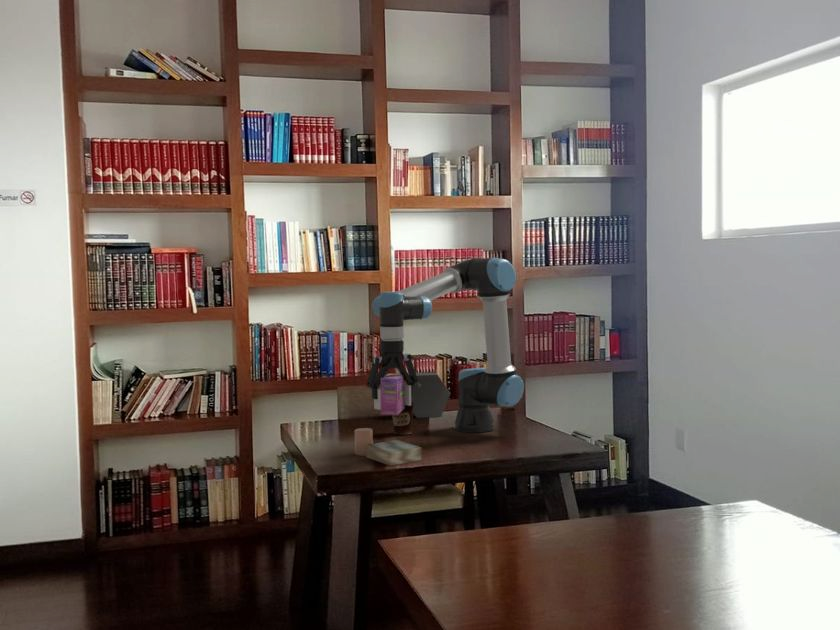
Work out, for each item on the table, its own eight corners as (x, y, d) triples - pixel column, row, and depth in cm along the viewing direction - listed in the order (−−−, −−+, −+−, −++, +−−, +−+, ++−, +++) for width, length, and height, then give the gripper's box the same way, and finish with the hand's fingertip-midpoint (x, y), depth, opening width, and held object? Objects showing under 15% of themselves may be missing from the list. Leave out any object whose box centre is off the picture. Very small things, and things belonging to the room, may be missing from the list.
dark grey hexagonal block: (453, 401, 347) (426, 361, 343) (457, 404, 339) (430, 363, 336) (420, 425, 344) (393, 385, 341) (424, 428, 337) (396, 388, 333)
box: (398, 415, 261) (397, 378, 261) (380, 414, 263) (379, 377, 262) (405, 409, 272) (404, 373, 271) (388, 408, 273) (387, 373, 272)
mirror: (397, 451, 277) (397, 439, 277) (421, 459, 266) (421, 446, 266) (366, 457, 270) (366, 444, 270) (390, 465, 259) (390, 452, 259)
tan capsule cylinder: (366, 450, 280) (366, 427, 279) (376, 453, 275) (376, 430, 274) (351, 453, 276) (351, 429, 276) (361, 456, 271) (360, 432, 271)
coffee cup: (412, 436, 301) (411, 401, 301) (389, 435, 303) (389, 400, 302) (415, 431, 310) (415, 397, 309) (394, 430, 311) (393, 396, 310)
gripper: (415, 336, 275) (416, 401, 277) (354, 341, 262) (355, 409, 263) (428, 338, 269) (429, 404, 271) (366, 343, 256) (368, 412, 257)
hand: (392, 407), depth 267 cm, fingers closed on box, 11 cm apart
